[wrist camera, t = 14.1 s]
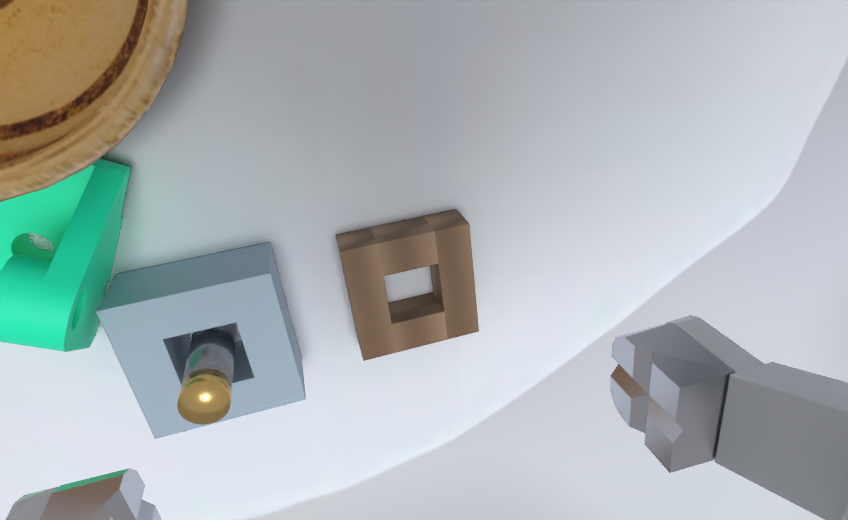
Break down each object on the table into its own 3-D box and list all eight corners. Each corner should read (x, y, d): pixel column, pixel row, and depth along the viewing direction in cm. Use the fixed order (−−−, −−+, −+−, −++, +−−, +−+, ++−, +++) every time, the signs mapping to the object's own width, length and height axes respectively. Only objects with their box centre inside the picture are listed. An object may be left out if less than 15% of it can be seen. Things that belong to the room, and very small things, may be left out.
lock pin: (232, 298, 39) (222, 378, 30) (242, 331, 40) (236, 416, 32) (191, 307, 38) (170, 391, 30) (203, 340, 39) (186, 429, 31)
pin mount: (456, 209, 40) (469, 223, 38) (466, 311, 44) (478, 331, 42) (335, 234, 39) (340, 251, 36) (357, 338, 43) (363, 360, 40)
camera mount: (-14, 121, 31) (-130, 169, 22) (134, 162, 34) (86, 220, 25) (-35, 302, 34) (-142, 408, 25) (100, 326, 37) (47, 428, 28)
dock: (269, 241, 38) (270, 273, 33) (301, 358, 42) (305, 399, 38) (116, 274, 36) (96, 311, 31) (167, 391, 40) (154, 438, 36)
